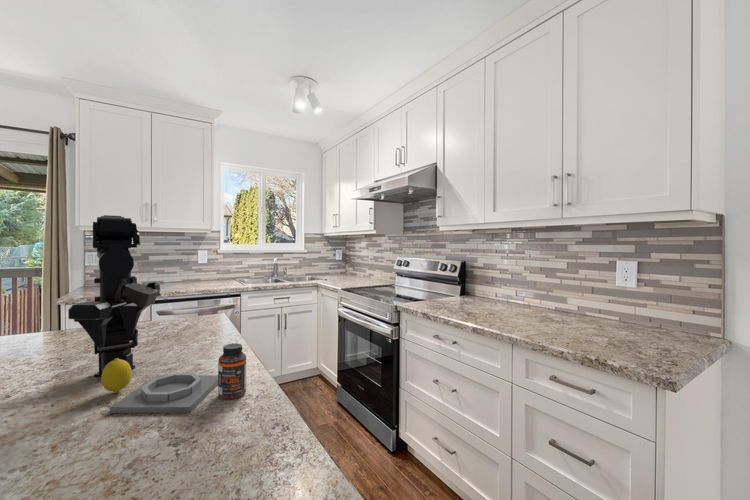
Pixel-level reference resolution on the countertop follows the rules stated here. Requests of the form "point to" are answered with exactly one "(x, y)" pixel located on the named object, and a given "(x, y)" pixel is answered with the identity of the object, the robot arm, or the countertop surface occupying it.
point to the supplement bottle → (232, 372)
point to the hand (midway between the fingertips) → (116, 341)
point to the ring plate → (168, 394)
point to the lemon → (116, 375)
